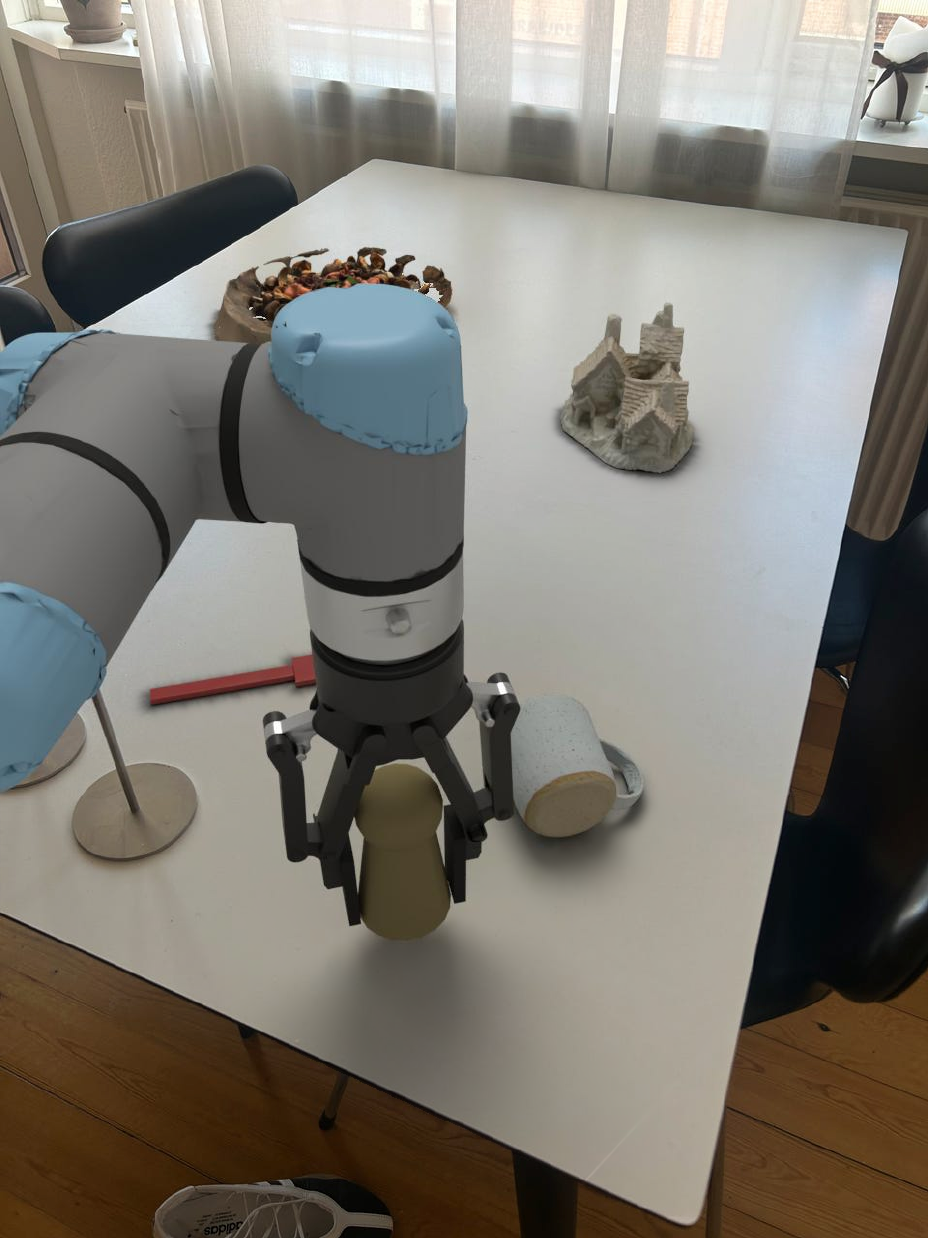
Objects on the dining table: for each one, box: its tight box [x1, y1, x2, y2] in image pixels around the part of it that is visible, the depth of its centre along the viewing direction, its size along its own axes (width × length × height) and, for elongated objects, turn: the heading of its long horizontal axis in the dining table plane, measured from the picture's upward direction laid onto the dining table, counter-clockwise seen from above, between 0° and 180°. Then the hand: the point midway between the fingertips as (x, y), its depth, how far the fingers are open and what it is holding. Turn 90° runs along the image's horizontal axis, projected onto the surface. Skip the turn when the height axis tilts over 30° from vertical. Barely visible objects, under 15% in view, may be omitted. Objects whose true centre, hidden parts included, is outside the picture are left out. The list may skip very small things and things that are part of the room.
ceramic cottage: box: [559, 301, 694, 474], centre depth 110 cm, size 16×16×15 cm
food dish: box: [212, 246, 453, 344], centre depth 140 cm, size 35×33×8 cm
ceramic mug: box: [511, 693, 645, 838], centre depth 70 cm, size 11×8×8 cm
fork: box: [149, 654, 316, 705], centre depth 83 cm, size 21×3×1 cm, turn 104°
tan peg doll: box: [354, 763, 452, 942], centre depth 58 cm, size 6×6×11 cm
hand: (403, 895), depth 62 cm, fingers closed on tan peg doll, 6 cm apart
